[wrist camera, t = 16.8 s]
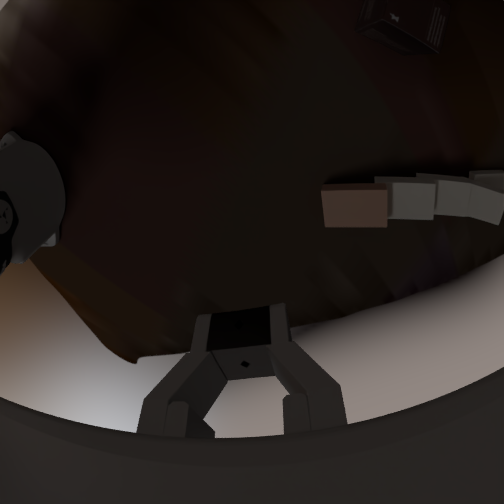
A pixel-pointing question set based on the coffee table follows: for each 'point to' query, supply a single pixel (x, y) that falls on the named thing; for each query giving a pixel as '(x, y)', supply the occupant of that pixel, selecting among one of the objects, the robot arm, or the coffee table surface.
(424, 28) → the box
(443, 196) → the domino
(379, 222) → the domino
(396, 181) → the domino
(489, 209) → the domino
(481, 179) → the domino
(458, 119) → the coffee table surface
